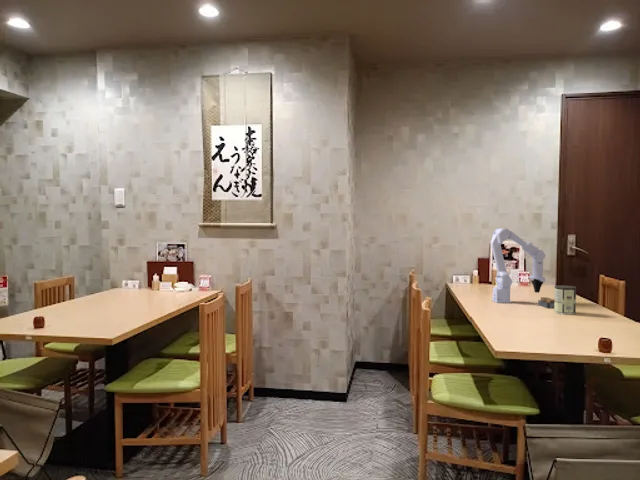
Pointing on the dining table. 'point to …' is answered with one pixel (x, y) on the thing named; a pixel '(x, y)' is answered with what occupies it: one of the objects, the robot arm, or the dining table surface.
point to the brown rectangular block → (547, 299)
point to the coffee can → (565, 299)
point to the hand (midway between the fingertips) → (537, 292)
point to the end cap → (545, 304)
